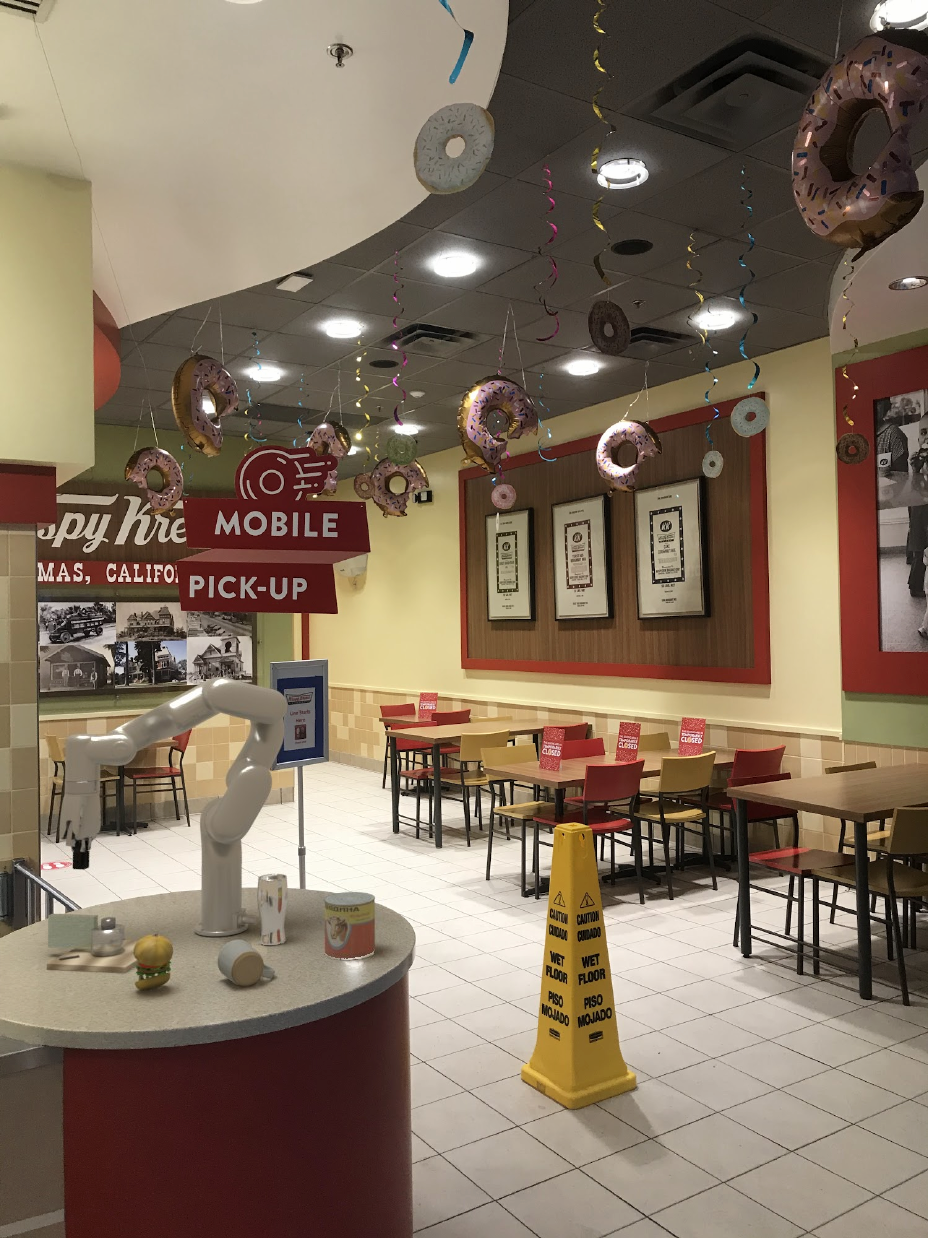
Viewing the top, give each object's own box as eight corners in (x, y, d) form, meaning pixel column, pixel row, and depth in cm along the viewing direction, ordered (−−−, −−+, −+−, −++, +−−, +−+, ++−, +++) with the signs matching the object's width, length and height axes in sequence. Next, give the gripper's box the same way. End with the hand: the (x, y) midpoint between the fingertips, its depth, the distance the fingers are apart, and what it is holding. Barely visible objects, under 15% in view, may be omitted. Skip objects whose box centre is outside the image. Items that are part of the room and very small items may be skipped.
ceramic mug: (231, 991, 187) (232, 952, 188) (216, 980, 194) (217, 942, 194) (281, 981, 193) (282, 943, 194) (265, 971, 200) (265, 934, 201)
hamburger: (162, 981, 194) (163, 922, 194) (180, 990, 188) (180, 929, 189) (126, 991, 188) (126, 929, 189) (143, 1000, 183) (143, 937, 184)
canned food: (314, 956, 209) (314, 901, 210) (342, 942, 219) (342, 890, 220) (358, 963, 204) (357, 906, 205) (384, 948, 214) (384, 895, 215)
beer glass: (280, 947, 216) (280, 881, 216) (252, 946, 217) (252, 879, 218) (292, 938, 223) (292, 874, 223) (264, 937, 224) (264, 873, 225)
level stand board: (165, 947, 217) (165, 940, 217) (125, 973, 199) (125, 966, 199) (92, 944, 220) (92, 937, 220) (46, 969, 202) (46, 962, 202)
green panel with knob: (131, 947, 212) (131, 913, 213) (114, 956, 205) (114, 921, 206) (59, 944, 215) (59, 910, 215) (40, 953, 208) (41, 918, 208)
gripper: (85, 783, 226) (83, 861, 225) (48, 792, 212) (46, 875, 211) (114, 784, 225) (113, 862, 224) (79, 792, 210) (77, 876, 210)
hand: (80, 868), depth 217 cm, fingers closed
